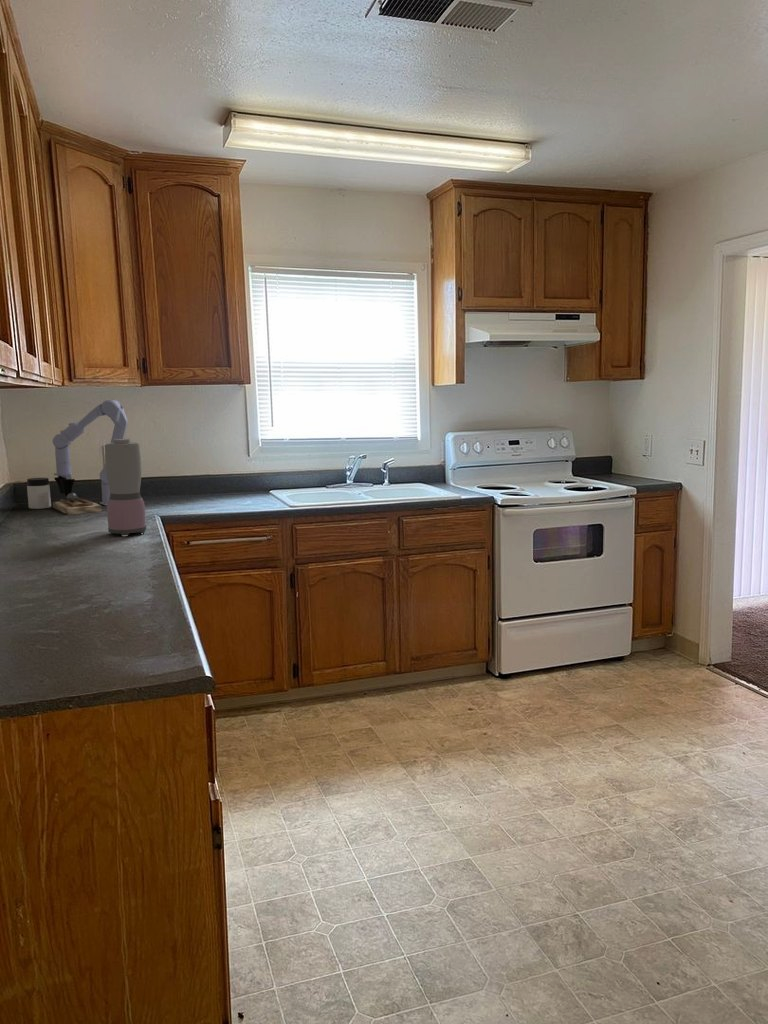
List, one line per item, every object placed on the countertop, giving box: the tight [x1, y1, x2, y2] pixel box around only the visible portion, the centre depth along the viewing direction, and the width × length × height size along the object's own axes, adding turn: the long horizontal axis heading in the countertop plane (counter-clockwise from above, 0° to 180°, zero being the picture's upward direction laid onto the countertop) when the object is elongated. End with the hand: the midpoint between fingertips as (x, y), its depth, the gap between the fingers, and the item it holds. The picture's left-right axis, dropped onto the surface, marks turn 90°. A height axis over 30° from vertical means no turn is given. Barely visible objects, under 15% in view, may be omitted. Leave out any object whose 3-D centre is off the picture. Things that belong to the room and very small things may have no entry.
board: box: [52, 497, 103, 516], centre depth 305 cm, size 13×22×3 cm, turn 37°
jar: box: [26, 477, 52, 510], centre depth 311 cm, size 9×8×12 cm
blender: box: [104, 438, 147, 536], centre depth 253 cm, size 16×12×32 cm
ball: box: [66, 491, 79, 502], centre depth 310 cm, size 4×4×4 cm
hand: (65, 494), depth 318 cm, fingers open, 7 cm apart
